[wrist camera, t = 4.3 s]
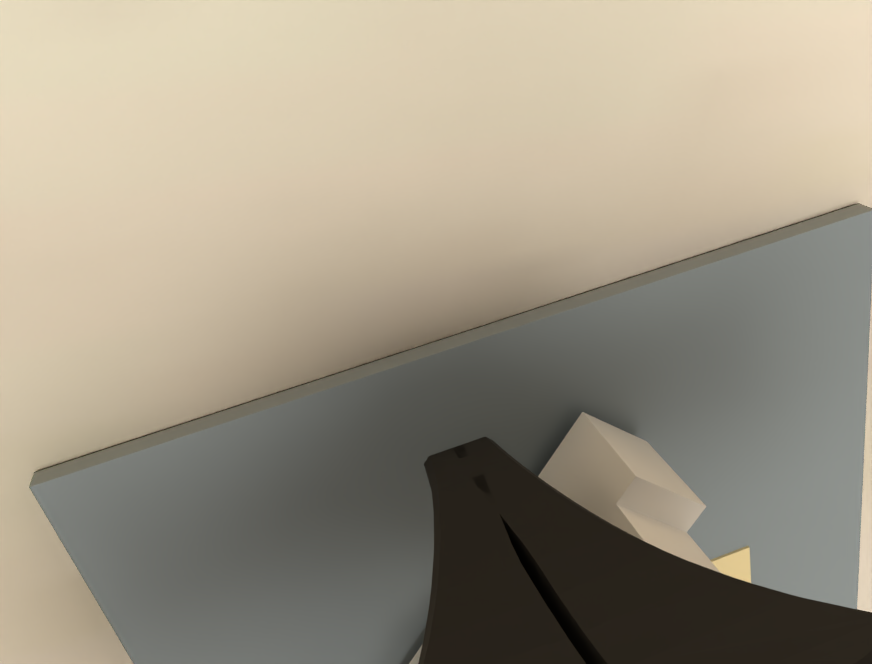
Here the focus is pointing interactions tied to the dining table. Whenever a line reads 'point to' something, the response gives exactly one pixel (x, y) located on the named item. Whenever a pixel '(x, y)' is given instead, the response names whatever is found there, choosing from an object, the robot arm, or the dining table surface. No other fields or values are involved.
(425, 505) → the board
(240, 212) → the dining table surface
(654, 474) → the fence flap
